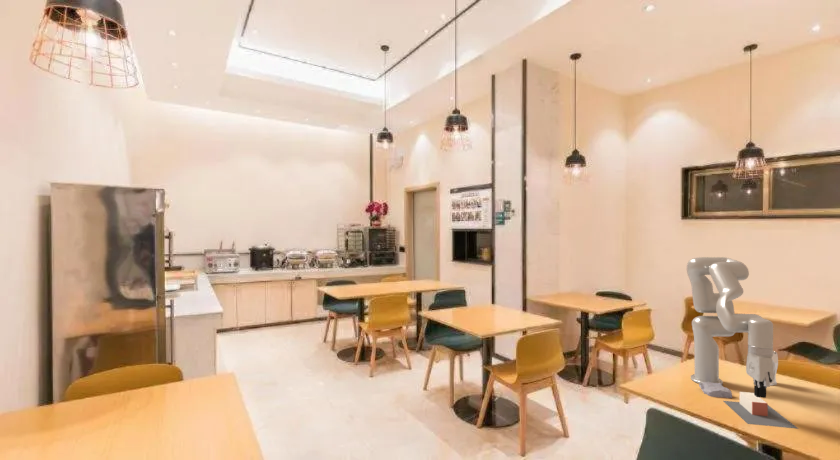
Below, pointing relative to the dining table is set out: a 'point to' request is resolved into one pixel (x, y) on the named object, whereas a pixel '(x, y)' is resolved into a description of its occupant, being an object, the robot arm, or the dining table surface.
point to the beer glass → (774, 367)
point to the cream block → (753, 404)
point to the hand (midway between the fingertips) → (760, 396)
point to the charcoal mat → (769, 420)
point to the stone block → (715, 390)
